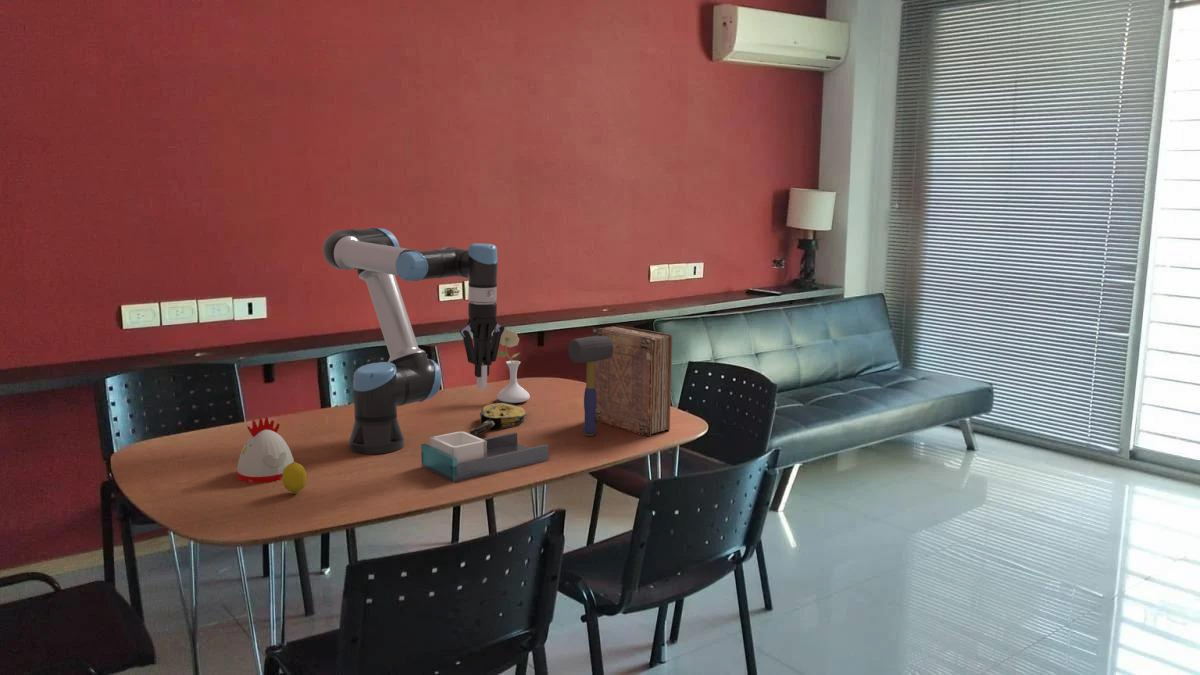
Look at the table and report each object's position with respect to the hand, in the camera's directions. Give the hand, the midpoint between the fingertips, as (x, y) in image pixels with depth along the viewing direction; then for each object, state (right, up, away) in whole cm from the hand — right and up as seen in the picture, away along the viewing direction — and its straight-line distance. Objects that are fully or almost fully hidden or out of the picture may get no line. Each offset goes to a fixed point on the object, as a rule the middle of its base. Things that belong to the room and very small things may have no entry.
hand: (481, 387), depth 244 cm
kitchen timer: (-54, -22, -13) cm, 59 cm away
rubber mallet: (+29, -16, +26) cm, 42 cm away
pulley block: (0, -14, +35) cm, 37 cm away
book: (+41, -14, +37) cm, 57 cm away
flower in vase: (+2, -8, +65) cm, 66 cm away
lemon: (-42, -24, -27) cm, 55 cm away
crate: (-5, -20, -8) cm, 22 cm away
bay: (+1, -20, -2) cm, 20 cm away
